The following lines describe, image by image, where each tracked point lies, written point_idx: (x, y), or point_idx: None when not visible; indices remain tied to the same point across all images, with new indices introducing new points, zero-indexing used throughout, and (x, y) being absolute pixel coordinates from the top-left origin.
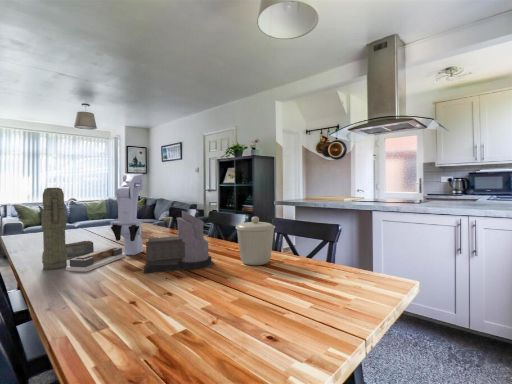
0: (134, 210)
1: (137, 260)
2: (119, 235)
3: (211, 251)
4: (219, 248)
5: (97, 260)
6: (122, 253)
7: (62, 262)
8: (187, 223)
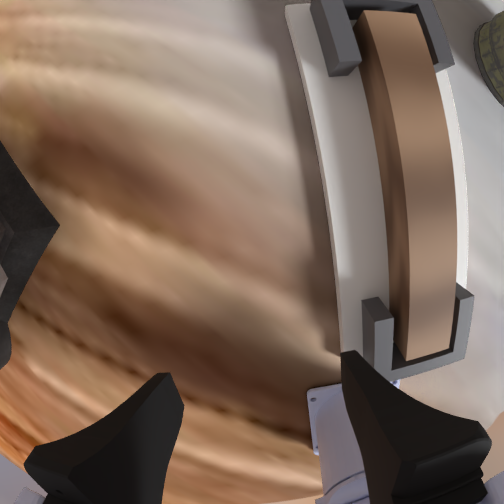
0: None
1: (187, 313)
2: (355, 420)
3: None
4: None
5: (377, 149)
6: None
7: (491, 48)
8: None
